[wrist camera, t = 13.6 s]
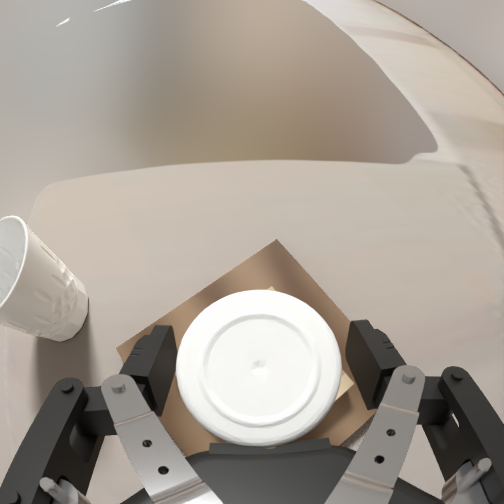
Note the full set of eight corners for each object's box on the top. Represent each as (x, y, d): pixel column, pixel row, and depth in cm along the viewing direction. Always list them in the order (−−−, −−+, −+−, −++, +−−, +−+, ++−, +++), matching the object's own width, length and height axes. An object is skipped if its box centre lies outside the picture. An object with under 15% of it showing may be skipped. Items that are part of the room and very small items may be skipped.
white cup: (71, 255, 25) (15, 198, 16) (108, 309, 22) (40, 259, 13) (26, 306, 22) (-39, 265, 13) (57, 365, 20) (-22, 339, 11)
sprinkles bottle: (292, 353, 20) (350, 294, 8) (284, 414, 18) (335, 456, 6) (229, 345, 20) (190, 274, 8) (219, 405, 18) (159, 433, 6)
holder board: (275, 246, 25) (278, 226, 22) (396, 384, 19) (415, 382, 16) (122, 350, 21) (104, 343, 18) (238, 506, 15) (236, 523, 12)
